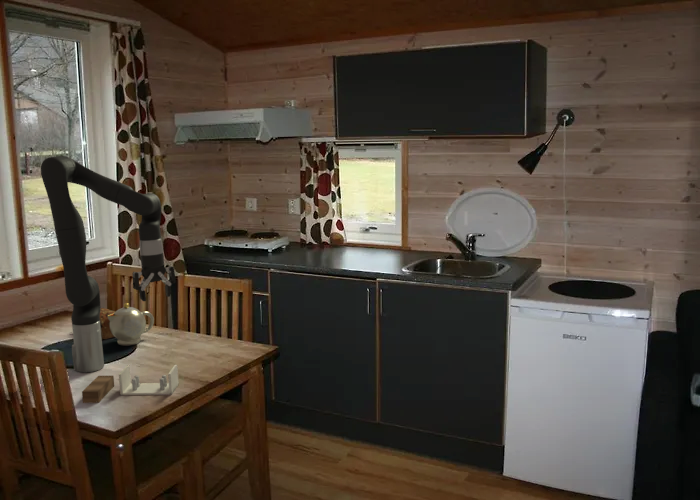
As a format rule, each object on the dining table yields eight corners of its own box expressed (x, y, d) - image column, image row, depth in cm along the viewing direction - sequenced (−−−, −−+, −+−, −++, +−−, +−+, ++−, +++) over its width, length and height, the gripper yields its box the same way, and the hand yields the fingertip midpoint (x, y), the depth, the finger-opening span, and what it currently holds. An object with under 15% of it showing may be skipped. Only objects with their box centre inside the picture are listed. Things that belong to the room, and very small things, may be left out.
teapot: (115, 351, 245) (112, 310, 242) (105, 342, 256) (101, 302, 252) (161, 341, 256) (158, 302, 252) (149, 333, 266) (146, 295, 263)
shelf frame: (120, 395, 205) (118, 374, 203) (128, 385, 212) (127, 365, 211) (172, 394, 205) (170, 373, 203) (178, 384, 212) (177, 364, 211)
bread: (126, 335, 265) (124, 311, 263) (101, 341, 257) (98, 317, 255) (106, 325, 278) (104, 303, 276) (82, 331, 270) (80, 308, 268)
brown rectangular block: (99, 403, 199) (97, 391, 198) (83, 403, 199) (81, 391, 198) (114, 386, 212) (113, 375, 211) (99, 387, 212) (98, 375, 211)
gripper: (167, 248, 224) (171, 293, 227) (127, 254, 216) (131, 300, 218) (176, 250, 218) (180, 296, 221) (134, 256, 210) (139, 304, 213)
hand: (156, 298), depth 220 cm, fingers open, 8 cm apart
